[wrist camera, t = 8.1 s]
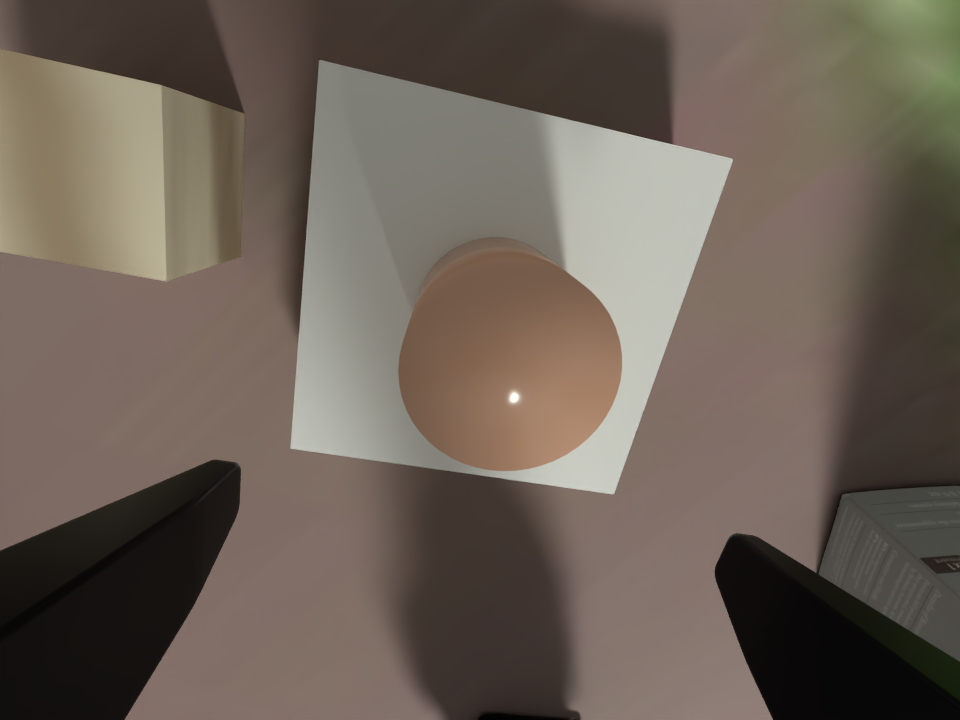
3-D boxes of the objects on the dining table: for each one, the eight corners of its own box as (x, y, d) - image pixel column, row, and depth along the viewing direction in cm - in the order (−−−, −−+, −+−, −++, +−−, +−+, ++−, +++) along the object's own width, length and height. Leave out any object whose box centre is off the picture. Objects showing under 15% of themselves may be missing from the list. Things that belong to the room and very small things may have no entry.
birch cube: (245, 114, 16) (161, 85, 12) (241, 256, 18) (166, 281, 13) (91, 79, 16) (-63, 34, 11) (102, 230, 17) (-28, 246, 13)
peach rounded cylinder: (588, 254, 15) (652, 287, 10) (548, 398, 16) (586, 484, 12) (429, 222, 14) (417, 240, 9) (405, 374, 16) (384, 454, 11)
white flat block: (673, 164, 17) (733, 159, 14) (585, 440, 21) (613, 494, 18) (350, 89, 16) (319, 59, 12) (321, 399, 20) (290, 448, 16)
